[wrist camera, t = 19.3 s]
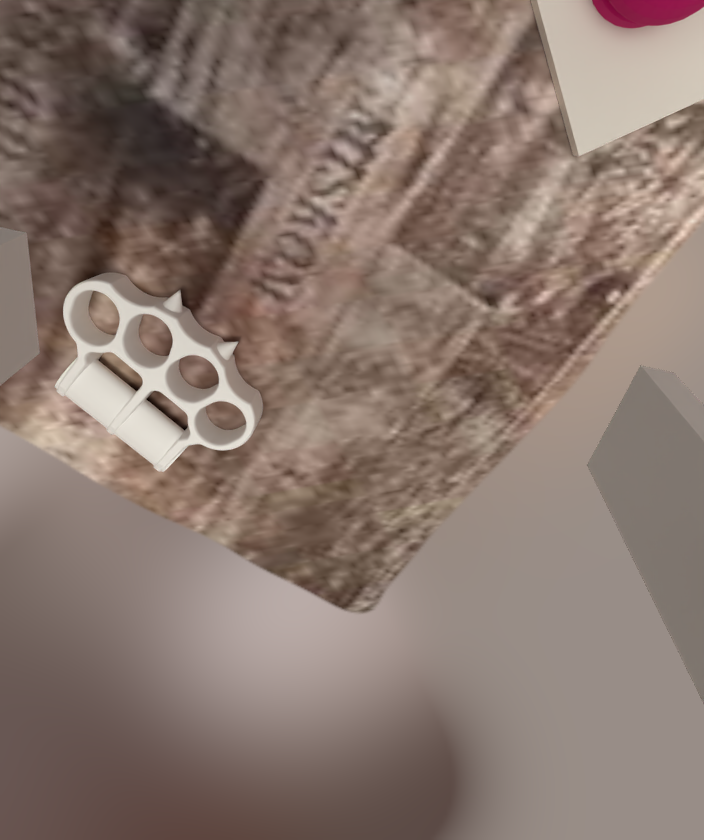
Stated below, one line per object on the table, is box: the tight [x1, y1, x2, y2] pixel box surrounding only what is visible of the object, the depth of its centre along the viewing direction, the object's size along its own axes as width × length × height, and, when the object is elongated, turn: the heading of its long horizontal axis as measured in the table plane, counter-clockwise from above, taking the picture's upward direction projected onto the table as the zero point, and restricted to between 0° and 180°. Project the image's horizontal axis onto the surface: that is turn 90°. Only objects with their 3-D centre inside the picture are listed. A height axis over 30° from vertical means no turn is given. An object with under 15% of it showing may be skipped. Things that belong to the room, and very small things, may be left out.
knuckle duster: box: [55, 273, 263, 472], centre depth 48 cm, size 3×18×15 cm
